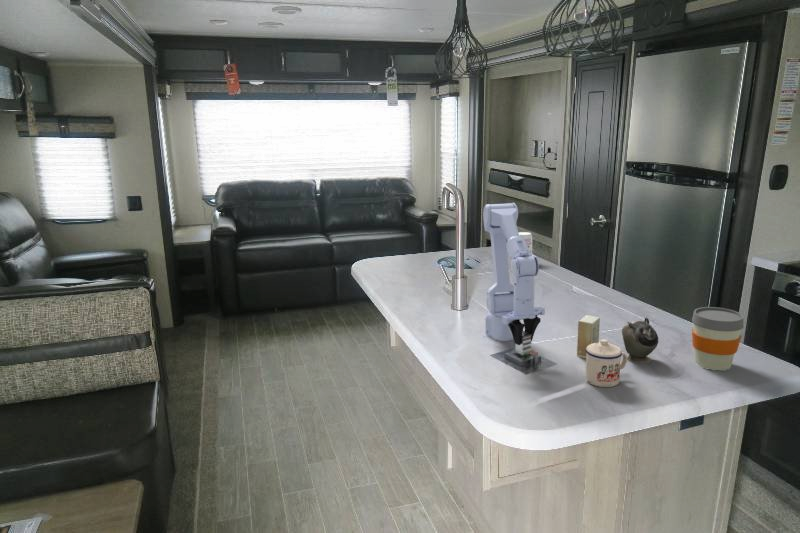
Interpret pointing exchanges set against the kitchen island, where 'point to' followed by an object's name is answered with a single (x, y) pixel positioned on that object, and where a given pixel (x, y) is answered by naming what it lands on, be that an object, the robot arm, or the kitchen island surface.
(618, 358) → the teacup with lid
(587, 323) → the skincare box
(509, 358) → the stand base
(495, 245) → the robot arm
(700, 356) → the reusable coffee cup
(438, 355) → the kitchen island surface
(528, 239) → the supplement can
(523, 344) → the grey ribbed block
